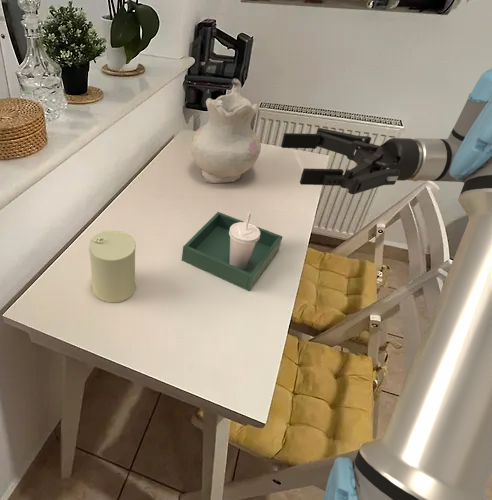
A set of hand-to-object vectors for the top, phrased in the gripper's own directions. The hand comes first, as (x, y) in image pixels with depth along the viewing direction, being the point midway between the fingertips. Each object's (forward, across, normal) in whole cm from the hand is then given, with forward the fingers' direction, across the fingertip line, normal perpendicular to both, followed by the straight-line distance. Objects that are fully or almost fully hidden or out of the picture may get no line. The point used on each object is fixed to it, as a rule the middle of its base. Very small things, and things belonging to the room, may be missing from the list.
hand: (291, 157), depth 78 cm
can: (+33, -7, -28) cm, 43 cm away
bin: (+6, +4, -27) cm, 28 cm away
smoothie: (+6, 0, -27) cm, 28 cm away
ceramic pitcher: (+4, +43, -28) cm, 51 cm away
